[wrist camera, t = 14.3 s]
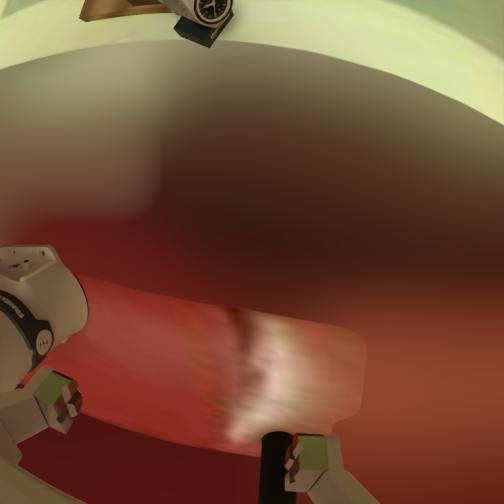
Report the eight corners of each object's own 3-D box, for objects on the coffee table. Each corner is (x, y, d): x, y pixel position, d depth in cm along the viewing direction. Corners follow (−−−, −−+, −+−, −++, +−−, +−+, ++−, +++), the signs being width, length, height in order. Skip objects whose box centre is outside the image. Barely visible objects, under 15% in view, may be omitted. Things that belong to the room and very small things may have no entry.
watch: (223, 54, 30) (203, 19, 19) (169, 32, 29) (134, -2, 19) (247, 20, 28) (238, -24, 18) (193, -1, 27) (167, -42, 17)
